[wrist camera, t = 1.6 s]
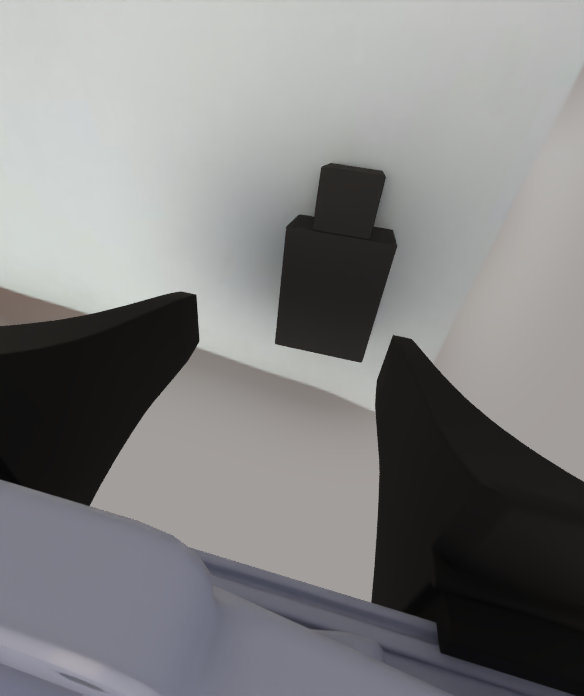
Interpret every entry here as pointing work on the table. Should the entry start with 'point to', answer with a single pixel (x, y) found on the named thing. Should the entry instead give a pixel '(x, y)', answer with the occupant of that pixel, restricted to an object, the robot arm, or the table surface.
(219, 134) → the table surface
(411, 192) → the table surface
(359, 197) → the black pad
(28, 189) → the table surface
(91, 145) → the table surface
